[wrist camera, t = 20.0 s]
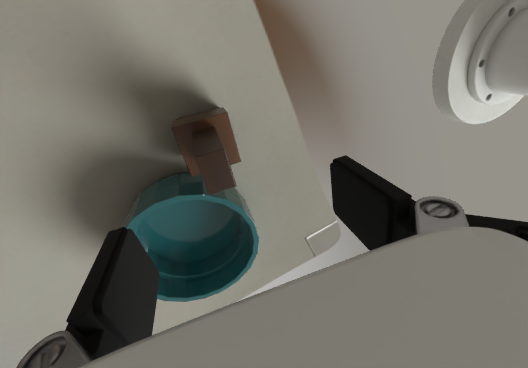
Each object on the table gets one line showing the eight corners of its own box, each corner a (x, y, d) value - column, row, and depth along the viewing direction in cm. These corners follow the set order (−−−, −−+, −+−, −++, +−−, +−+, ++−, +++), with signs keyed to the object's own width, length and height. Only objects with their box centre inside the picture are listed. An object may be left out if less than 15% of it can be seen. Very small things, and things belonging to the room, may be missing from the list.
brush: (221, 104, 24) (241, 129, 15) (233, 148, 26) (257, 190, 18) (173, 117, 23) (166, 150, 14) (190, 161, 25) (194, 212, 17)
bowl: (230, 155, 26) (240, 175, 22) (257, 242, 33) (269, 272, 28) (103, 194, 24) (83, 226, 20) (159, 279, 31) (155, 318, 26)
